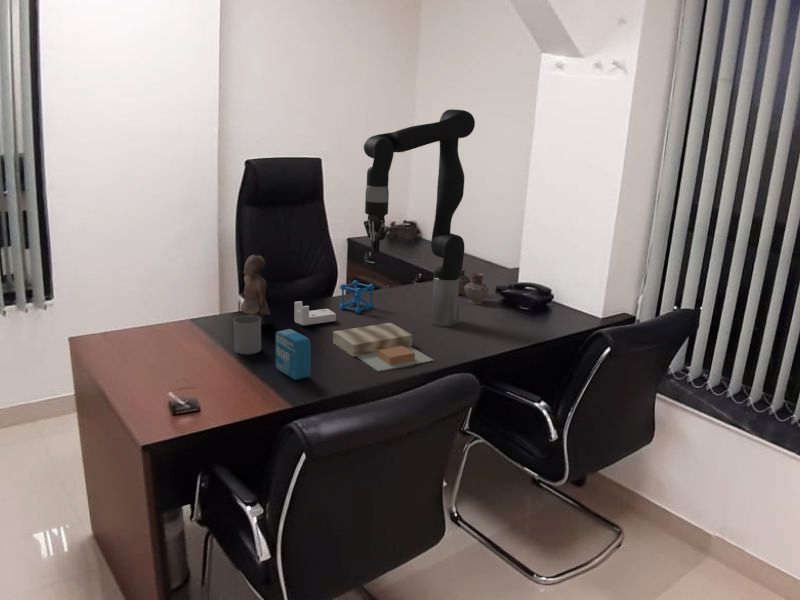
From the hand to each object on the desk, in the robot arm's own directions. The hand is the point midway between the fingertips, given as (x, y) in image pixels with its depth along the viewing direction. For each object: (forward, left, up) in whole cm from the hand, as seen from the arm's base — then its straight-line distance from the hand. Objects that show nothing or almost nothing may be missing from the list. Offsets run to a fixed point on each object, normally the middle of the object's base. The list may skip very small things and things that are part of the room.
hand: (375, 251), depth 227 cm
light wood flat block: (+5, +9, -29) cm, 31 cm away
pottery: (-58, -24, -29) cm, 69 cm away
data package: (+38, +20, -29) cm, 52 cm away
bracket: (+12, -20, -30) cm, 38 cm away
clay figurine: (+32, -26, -29) cm, 51 cm away
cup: (+43, -4, -29) cm, 52 cm away
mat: (+5, +23, -29) cm, 37 cm away
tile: (+5, +24, -27) cm, 37 cm away
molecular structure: (-9, -28, -29) cm, 42 cm away
